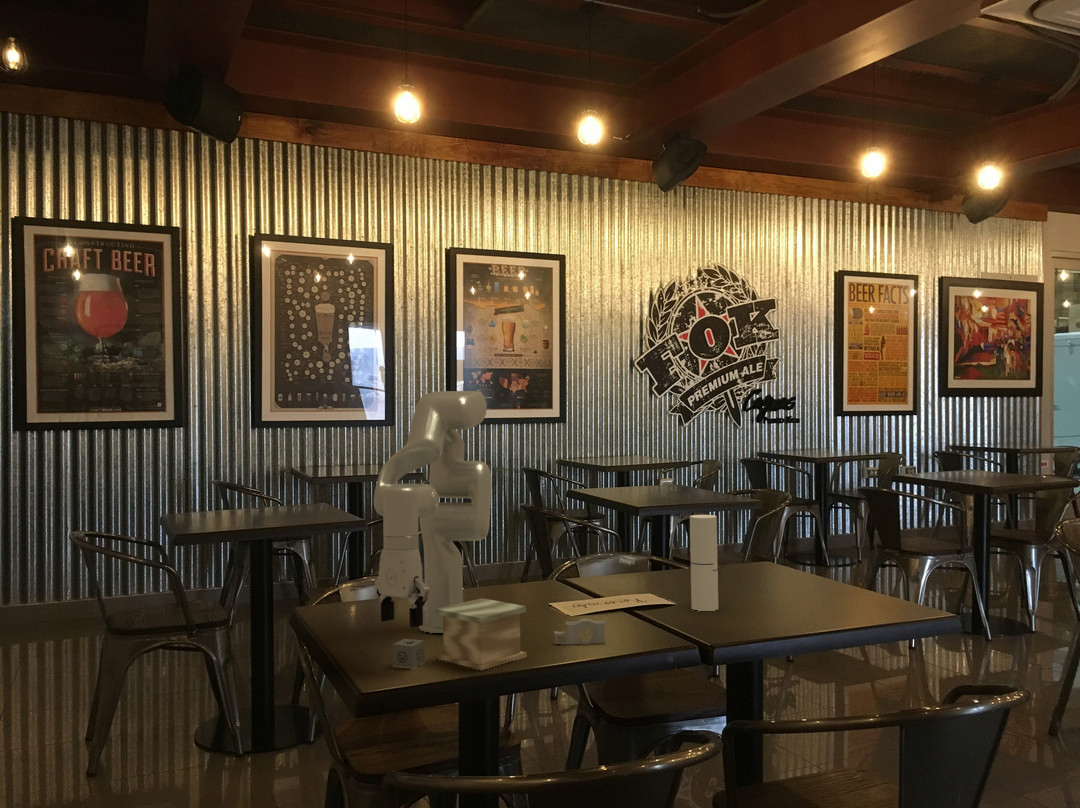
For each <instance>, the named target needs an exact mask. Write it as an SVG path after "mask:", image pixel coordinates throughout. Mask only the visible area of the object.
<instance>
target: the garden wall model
mask: <svg viewBox="0 0 1080 808" xmlns="http://www.w3.org/2000/svg"><path fill="white" fill-rule="evenodd" d="M606 623H607V622H606V620H600V621H597V620H596V621H595V620H593V619H590V618H587V617H585V618H581V619H580V620H577V621H565V625H566V626H567V627H566V630H564V631H556V630H554V631H553V634H554V635H555V637H554V638H555V640H554V641H555V643H554V644H555V645H556V644H561V645H594V644H597V645H598V644H605V640H606V639H605V625H606Z"/></svg>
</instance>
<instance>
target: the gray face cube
mask: <svg viewBox="0 0 1080 808" xmlns="http://www.w3.org/2000/svg"><path fill="white" fill-rule="evenodd" d="M391 648H392V649H391V652H392V653H391V654H392V660H391V661H392V666H393V665H395V666H403V667H411V668H413V667H415V666H417V665H419V664H421V663H423V662H425V663H426V661H425V656H426V655H425V640H420V639H410V638H409V639H408V638H403V639H401V640H399V641H397V642H395V643H393V644H392V645H391Z"/></svg>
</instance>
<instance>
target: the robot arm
mask: <svg viewBox="0 0 1080 808" xmlns="http://www.w3.org/2000/svg"><path fill="white" fill-rule="evenodd" d="M487 406H488V405H487V401H486V398H485V395H484V394H483V393H482V392H480V391H477V390H453V391H452V390H449V391H448V390H446V391H445V390H443V391H442V390H441V391H440V390H439V391H432V392H428V393H425V394H423V395H422V396H421V397H420V399H419V401H418V402H417V403H416V405H415V409H414V413H413V417H412V422H411V423H410V424H411V425H410V429H409V433H408V436H407V442H406V444H405V445H404V446H403V447H402V448H400V449H398V451H396V452H395V453H394V454H393V455H391V457H390V458H388V460H387V461H386V462H385V464H384V465H383V466H382V468H381V469H380V472H379V474H378V476H377V481H376V485H375V489H374V495H373V506H374V507H373V508H374V509H375V511H376V513H377V514H378V515H379V516H382V517H383V518H382V519H383V520H382V523H383V525H382V526H383V527H382V528H383V532H382V533H383V549H381V553H380V558H379V563H378V565H379V566H378V578H376V579H375V580H374V585H375V589H376V595H377V596H378V597H379V598H378V602H379V603H380V621H382V622H387V621H388V622H389V621H393V620H394V619H395V601H394V600H393V599H394V598H395V599H401V600H405V599H407V600H408V602H409V605H410V606H411V607H409V627H410V628H416V627H419V628H418V629H419V630H420V631H421V632H423V631H424V632H423V633H426V632H429V633H428V634H432V633H443V616H441V615H437V614H436V609H439V608H443V607H447V606H451V605H455V604H460V603H464V590H463V589H464V587H463V585H464V584H463V582H464V581H463V580H464V579H463V578H464V577H463V576H464V574H463V557H462V554H461V552H460V550H459V549H458V547H457V546H456V545H455V544H454V542H457V541H459V542H460V541H461V542H462V541H463V542H465V541H466V542H475V541H476V542H479V541H482V540H484V539H486V537H487V536H488V533H489V531H490V522H491V521H490V520H491V503H492V473H491V469H490V467H489V466H488V464H487V463H486V462H483V461H481V460H465V459H464V458H465V441H464V439H463V438H462V436H461V435H460V434H459V433H460V432H458V430H471V429H474V428H475V427H476V426H478V425H480V424H481V423H482V422H483V421H484V419H485V418H486V415H487ZM427 465H429V475H428V476H429V477H428V479H429V480H428V481H429V482H428V483H429V484H428V483H397V482H398V481H399V480H400V479H401V478H403V476H406V475H407V474H409V473H410V472H413V471H415V470H418V469H420V468H422V467H426V466H427ZM440 498H442V499H470V500H471V502H456V501H455V502H453V501H452V502H448V501H447V502H439V499H440ZM419 527H420V531H421V536H422V537H421V538H422V544H423V545H422V546H423V560H424V568H423V567H422V561H421V560H422V559H421V554H420V546H419V545H420V543H419ZM423 569H424V581H423Z"/></svg>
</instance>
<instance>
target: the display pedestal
mask: <svg viewBox="0 0 1080 808" xmlns="http://www.w3.org/2000/svg"><path fill="white" fill-rule="evenodd" d="M526 612H527V606H526V605H520V604H515V603H510V602H505V601H499V600H494V599H488V598H484V597H481V598H477V599H473V600H469V601H465V602H464V601H463V603H460V604H455V605H451V606H447V607H443V608H439V609H436V614H437V615H441V616H443V634H442V637H443V639H442V640H443V642H442V643H443V648H442V649H443V653H440V654H437V656H436V658H438V659H441V660H446V661H449V662H453V663H456V664H459V665H463V666H467V667H471V668H474V669H478V670H481V671H482V670H485V669H488V670H490V669H489V668H491V669H493V668H492V667H494V668H496V667H495V666H497V667H499V666H498V665H500V666H502V665H501V664H503V665H506V664H505V663H507V664H509V663H508V662H510V663H512V662H511V661H513V662H516V661H518V660H521V659H525V658H528V653H527V652H526V651H522V650H521V614H524V613H526ZM515 660H516V661H515ZM459 665H458V666H459ZM474 669H473V670H474ZM478 670H477V671H478ZM481 671H480V672H481ZM485 671H486V670H485ZM482 672H483V671H482Z"/></svg>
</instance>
